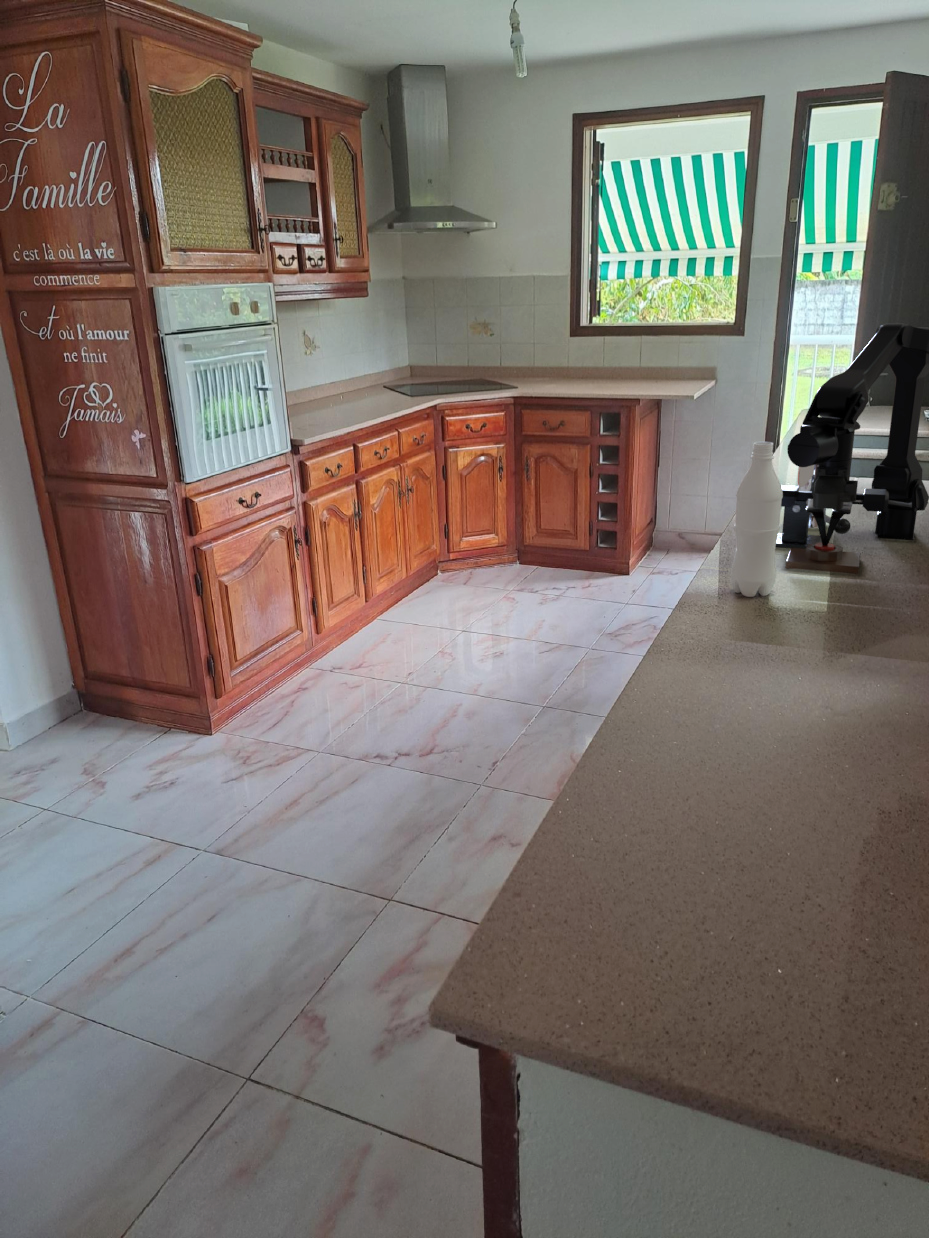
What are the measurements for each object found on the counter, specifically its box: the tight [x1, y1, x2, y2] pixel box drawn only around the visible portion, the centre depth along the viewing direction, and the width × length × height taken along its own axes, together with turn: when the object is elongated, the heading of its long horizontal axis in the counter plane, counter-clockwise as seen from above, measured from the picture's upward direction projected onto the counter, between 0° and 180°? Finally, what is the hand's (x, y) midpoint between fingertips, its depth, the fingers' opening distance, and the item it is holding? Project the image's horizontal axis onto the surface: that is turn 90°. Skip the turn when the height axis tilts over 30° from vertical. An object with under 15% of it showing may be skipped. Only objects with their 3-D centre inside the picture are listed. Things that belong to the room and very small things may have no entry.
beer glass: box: [796, 464, 818, 530], centre depth 182 cm, size 7×7×15 cm
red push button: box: [815, 542, 834, 550], centre depth 159 cm, size 3×3×2 cm
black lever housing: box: [775, 501, 822, 549], centre depth 171 cm, size 11×8×10 cm
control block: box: [785, 543, 861, 574], centre depth 159 cm, size 12×9×4 cm
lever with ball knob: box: [809, 512, 851, 535], centre depth 169 cm, size 12×3×3 cm, turn 66°
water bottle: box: [730, 441, 783, 598], centre depth 144 cm, size 7×7×25 cm
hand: (825, 544), depth 158 cm, fingers closed, pressing on red push button
